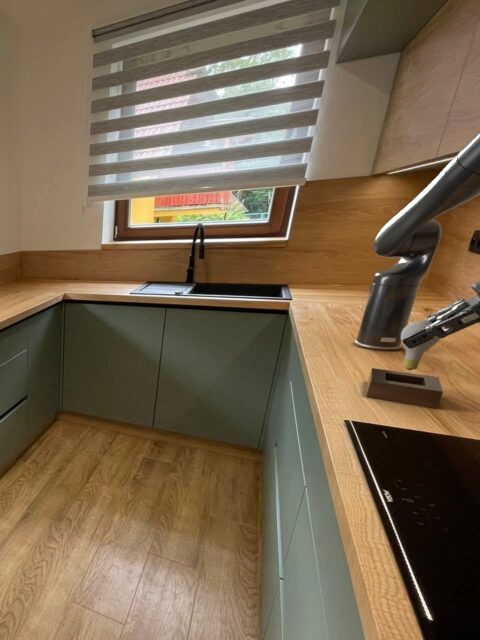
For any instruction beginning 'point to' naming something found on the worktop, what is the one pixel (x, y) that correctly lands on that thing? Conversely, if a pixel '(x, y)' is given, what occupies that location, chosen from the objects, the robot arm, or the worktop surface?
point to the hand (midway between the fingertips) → (405, 341)
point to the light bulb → (416, 353)
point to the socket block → (404, 387)
